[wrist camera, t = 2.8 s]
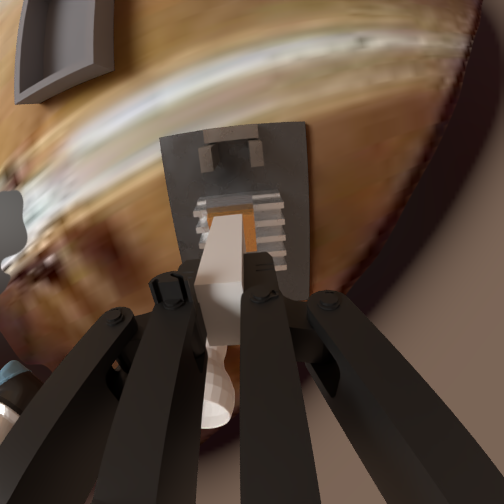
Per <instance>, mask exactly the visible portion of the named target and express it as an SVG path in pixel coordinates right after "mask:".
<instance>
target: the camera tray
mask: <svg viewBox="0 0 504 504" xmlns="http://www.w3.org/2000/svg"><path fill="white" fill-rule="evenodd" d="M113 29H114V0H24V2H23V7H22V11H21V17H20V23H19V29H18V36H17V45H16V56H15V77H14V96H15V105H18V104H39V103H41V102H43V101H45V100H47V99H49V98H51V97H53V96H55V95H57V94H59V93H61V92H63V91H65V90H67V89H69V88H72V87H74V86H76V85H78V84H81V83H83V82H86V81H88V80H90V79H93V78H95V77H98V76H101V75H103V74H106V73H109V72H112V71H115V69H114V36H113Z"/></svg>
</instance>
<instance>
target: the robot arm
mask: <svg viewBox="0 0 504 504" xmlns="http://www.w3.org/2000/svg"><path fill="white" fill-rule="evenodd" d="M148 284H149V287H150V290H151V293H152V296H153V299H154V302H155V306H154V308H153V311H152V312H149V313H146V314H142V315H138V316H134V314H133V312H132V311H131V310H130V309H129V308H126V307H116V308H112V309H111V310H109V311H107V312H105V313H104V314H103V315H102V316H101V317H100V318H99V319H98V320H97V321H96V322H95V324H94V325H93V326H92V327H91V328H90V329H89V330H88V331H87V333H86V334H85V335H84V336H83V337H82V338H81V339H80V341H79V342H78V343H77V344H76V345H75V346H74V348H73V349H72V350H71V351H70V352H69V354H68V355H67V356H66V357H65V358H64V360H63V361H62V362H61V363H60V364H59V366H58V367H57V368H56V369H55V371H54V372H53V373H52V374H51V376H50V377H49V378H48V380H47V381H46V382H45V383H43V382H42V381H41V380H40V379H38V378H37V377H36V376H35V375H34V374H33V373H31V371H30V370H29V369H27V368H26V367H24V366H23V365H22V364H21V363H20V362H18V361H16V360H13V361H10V362H9V363H7V364H6V365H5V366H4V367H3V368H2V369H1V370H0V504H84V503H85V501H86V499H87V497H88V495H89V493H90V491H91V489H92V488H93V486H94V484H95V482H96V480H97V483H96V488H95V492H94V497H93V500H92V503H91V504H196V503H195V502H196V486H197V472H198V458H199V446H200V434H201V423H202V412H203V401H204V391H205V382H206V373H207V363H208V352H207V349H206V340H207V339H208V343H209V346H226V345H240V491H241V493H240V494H241V504H321V500H320V493H319V487H318V481H317V474H316V469H315V462H314V456H313V451H312V445H311V439H310V433H309V428H308V422H307V417H306V412H305V405H304V400H303V395H302V389H301V384H300V379H299V373H298V368H297V363H296V361H298V362H305V365H306V367H307V369H308V371H309V372H310V374H311V376H312V378H313V379H314V381H315V383H316V384H317V386H318V388H319V389H320V391H321V393H322V395H323V397H324V398H325V400H326V402H327V403H328V405H329V407H330V409H331V410H332V412H333V414H334V415H335V417H336V419H337V420H338V422H339V423H340V426H341V427H342V429H343V431H344V432H345V434H346V436H347V437H348V439H349V441H350V442H351V444H352V446H353V448H354V449H355V451H356V453H357V454H358V456H359V458H360V459H361V461H362V463H363V464H364V466H365V468H366V469H367V471H368V473H369V474H370V476H371V478H372V479H373V481H374V482H375V484H376V485H377V487H378V489H379V491H380V493H381V494H382V496H383V497H384V499H385V501H386V502H387V504H504V477H503V475H502V474H501V473H500V471H499V470H498V469H497V467H496V466H495V465H494V463H493V462H492V461H491V459H490V458H489V457H488V456H487V454H486V453H485V452H484V450H483V449H482V448H481V447H480V445H479V444H478V443H477V442H476V440H475V439H474V438H473V437H472V435H470V433H469V432H468V431H467V429H466V428H465V427H464V426H463V425H462V423H461V422H460V421H459V420H458V418H457V417H456V416H455V415H454V414H453V412H452V411H451V410H450V409H449V408H448V407H447V405H446V404H445V403H444V402H443V401H442V399H441V398H440V397H439V396H438V395H437V394H436V393H435V391H434V390H433V389H432V388H431V387H430V386H429V385H428V384H427V382H426V381H425V380H424V379H423V378H422V377H421V375H420V374H419V373H418V372H417V371H416V370H415V369H414V368H413V367H412V365H411V364H410V363H409V362H408V361H407V360H406V359H405V358H404V357H403V356H402V354H401V353H400V352H399V351H398V350H397V349H396V348H395V347H394V346H393V345H392V344H391V342H390V341H389V340H388V339H387V338H386V337H385V336H384V335H383V334H382V333H381V332H380V331H379V330H378V329H377V328H376V326H375V325H374V324H373V323H372V322H370V320H369V319H368V318H367V317H366V316H365V315H364V314H363V313H362V312H361V311H360V310H359V309H358V308H357V307H356V306H355V305H354V304H353V303H352V302H351V300H349V298H348V297H346V296H345V295H344V294H342V293H340V292H337V291H331V290H324V291H318V292H316V293H314V294H312V295H311V296H310V297H309V298H308V301H307V302H302V301H295V300H291V299H289V298H287V297H285V296H283V294H282V293H281V291H280V290H279V286H278V281H277V276H276V271H275V266H274V262H273V257H272V256H271V255H270V254H269V253H268V252H257V253H247V254H246V245H245V236H244V227H243V218H242V214H235V215H225V216H216V217H214V218H213V221H212V224H211V227H210V231H209V234H208V237H207V241H206V244H205V248H204V251H203V255H202V258H201V259H192V260H186V261H185V262H184V263H182V264H181V265H180V266H179V269H178V271H171V272H166V273H163V274H160V275H157V276H156V277H154V278H153V279H152V280H151V281H150V282H149V283H148ZM115 360H116V361H117V362H118V364H119V365H118V367H117V368H116V369H113V367H112V366H111V365H112V364H113V363H114V361H115ZM97 478H98V479H97Z"/></svg>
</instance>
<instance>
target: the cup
mask: <svg viewBox="0 0 504 504" xmlns="http://www.w3.org/2000/svg"><path fill="white" fill-rule="evenodd" d="M206 349H207V352H208V363H207V373H206V382H205V391H204V401H203V412H202V423H201V428H202V429H207V428H216V427H220V426H223V425H224V424H226V423H227V422H228V421H229V420H230V418H231V415H232V411H233V408H234V403H235V391H234V388H233V385H232V382H231V379H230V377H229V375H228V373H227V372H226V370H225V368H224V359H225V355H226V351H227V345H226V346H209V343H208V339H207V340H206Z"/></svg>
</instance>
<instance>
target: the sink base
mask: <svg viewBox="0 0 504 504" xmlns="http://www.w3.org/2000/svg"><path fill="white" fill-rule="evenodd" d="M159 139H160V146H161V153H162V160H163V166H164V172H165V179H166V184H167V190H168V196H169V201H170V207H171V212H172V217H173V222H174V227H175V232H176V236H177V241H178V246H179V250H180V255H181V259H182V263H184V262H185V261H186V260H192V259H201V258H202V255H203V251H204V248H205V244H206V241H207V237H208V234H209V231H210V229H209V226H208V222H207V211H206V200H207V199H215V198H224V197H233V196H242V195H252V200H253V210H254V220H255V232H256V244H257V252H268V253H269V254H270V255H271V256H272V257H273V262H274V266H275V271H276V276H277V281H278V286H279V290H280V291H281V293H282V294H283V296H285V297H287V298H289V299H291V300H295V301H301V300H308V298H309V275H310V225H309V186H308V163H307V145H306V130H305V122H281V123H264V124H248V125H238V126H229V127H221V128H213V129H206V130H201V131H195V132H189V133H183V134H177V135H172V136H166V137H161V138H159Z"/></svg>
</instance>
